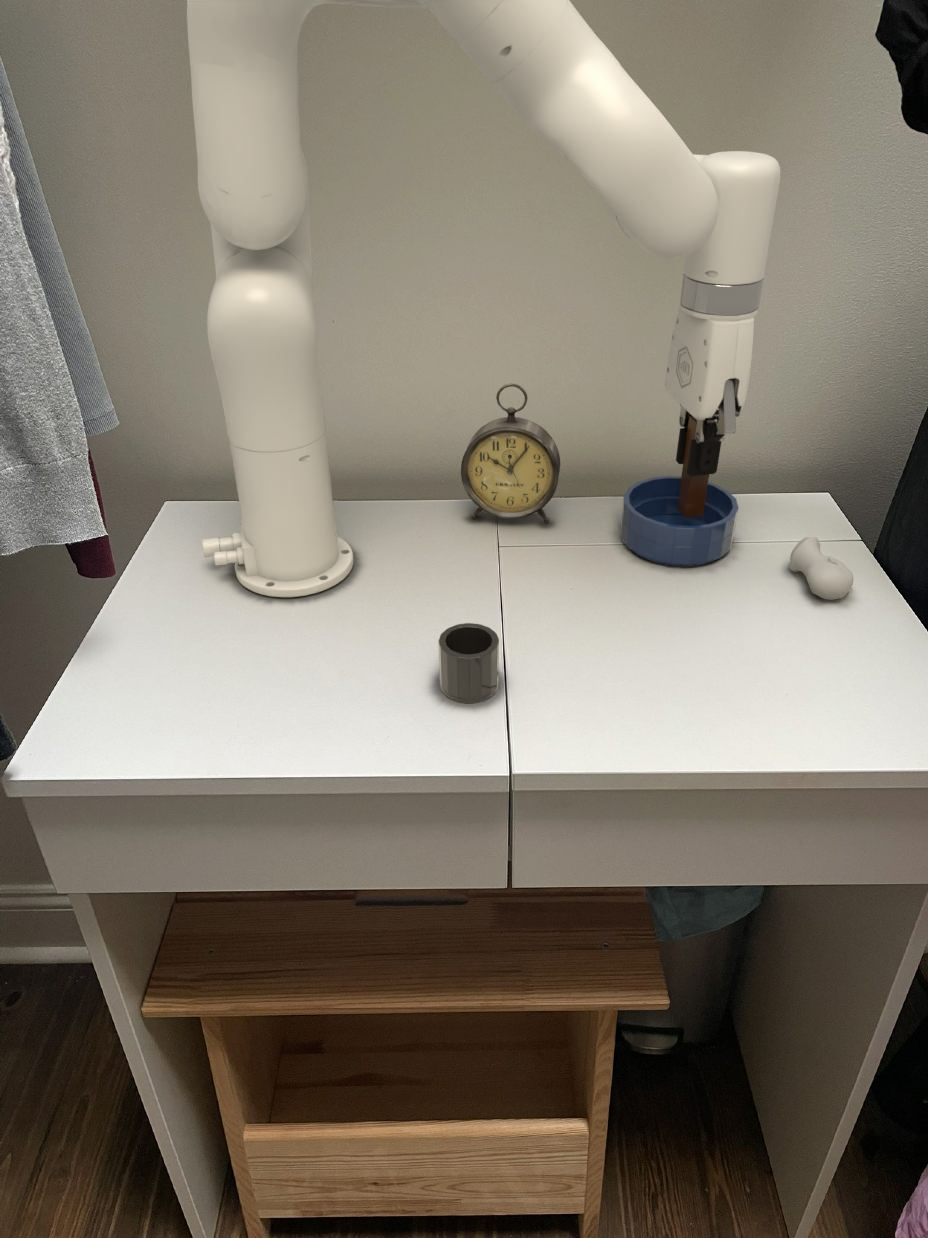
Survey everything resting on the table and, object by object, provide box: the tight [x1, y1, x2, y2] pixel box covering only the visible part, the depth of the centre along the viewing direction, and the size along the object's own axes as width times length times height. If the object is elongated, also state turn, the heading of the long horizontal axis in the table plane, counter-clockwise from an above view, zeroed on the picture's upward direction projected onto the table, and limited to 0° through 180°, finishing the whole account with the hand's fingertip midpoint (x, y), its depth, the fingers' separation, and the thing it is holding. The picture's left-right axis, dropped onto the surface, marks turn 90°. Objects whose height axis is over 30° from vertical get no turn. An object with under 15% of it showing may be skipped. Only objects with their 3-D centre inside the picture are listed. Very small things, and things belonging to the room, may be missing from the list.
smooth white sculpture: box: [789, 536, 854, 601], centre depth 97 cm, size 4×8×5 cm
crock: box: [438, 622, 500, 704], centre depth 84 cm, size 5×5×5 cm
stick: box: [677, 416, 717, 518], centre depth 102 cm, size 2×2×11 cm
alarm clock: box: [460, 383, 561, 524], centre depth 106 cm, size 11×5×16 cm, turn 81°
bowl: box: [619, 475, 739, 567], centre depth 104 cm, size 12×12×5 cm
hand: (695, 466), depth 102 cm, fingers closed on stick, 2 cm apart
